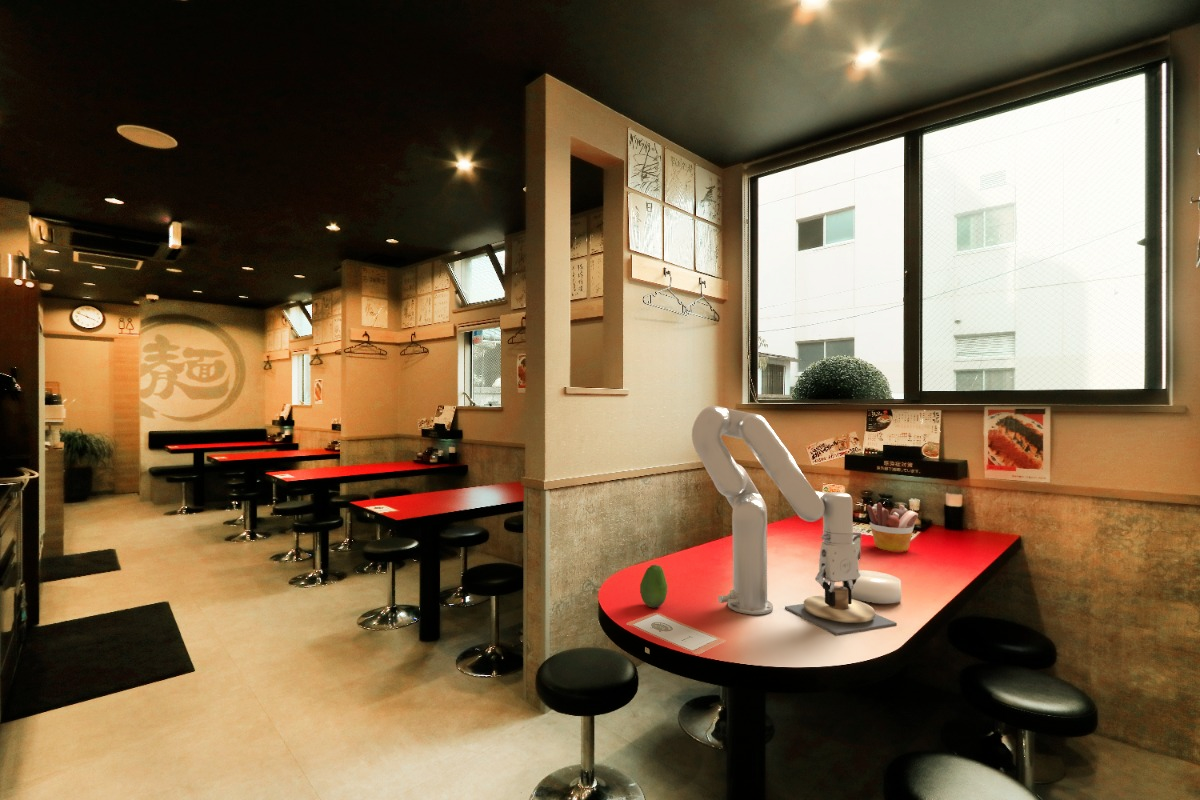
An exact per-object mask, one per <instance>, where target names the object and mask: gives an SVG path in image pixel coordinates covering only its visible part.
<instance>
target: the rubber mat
mask: <svg viewBox="0 0 1200 800" xmlns="http://www.w3.org/2000/svg"><path fill="white" fill-rule="evenodd" d="M784 609H786V610H788V611H789V612H791V613H793V614H794V615H796V616H799V617H800V618H803V619H804V620H806V621H808V622H810V623H811V624H813V625H816V626H818V627H820V628H822V629H824V630H825V631H828V632H829V633H831V634H834V635H836V636H840V635H846V634H847V633H848V634H852V633H853V632H854V633H858V631H859V632H865V631H870V630H876V629H882V627H883V628H887V627H888V626H889V627H893V626H898V623H897V622H896V621H893V620H890V619H888V618H887V617H884V616H882V615H879V614H878V613H875V617H874V618H873V619H872V620H870V621H867V622H860V623H847V622H838V621H832V620H828V619H824V618H821V617H818V616H815V615H813V614H811V613H809V612H808V611H806V610H805V608H804V603H800V604H793V605H785V606H784ZM889 627H888V628H889Z"/></svg>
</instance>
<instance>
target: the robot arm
mask: <svg viewBox="0 0 1200 800" xmlns="http://www.w3.org/2000/svg"><path fill="white" fill-rule="evenodd" d="M691 430H692V431H691V441H692V444H693V447H694V449H695V451H696V454H697V456H698V457H699V459H700V461H701V462H702V465H703V466H704V468H705V470H706V472H707V473H708V475H709V477H710V478H711V480H712V483H713V484H714V486H715V488H716V490H717V492H719V493H720V494H721V495H722V496H723V497H724V496H725V498H726V500H727V501H728V503H729V505H730V506H731V508H732V515H731V517H732V518H731V520H732V521H731V522H732V523H731V524H732V525H731V526H732V527H731V528H732V589H730V590H729V593H728V594H727V595H725V594H724V595H719V596H718V597H717V599H718V603H720V604H724V603H727V606H728V608H729V609H730V610H731V611H732V610H733V611H735V612H736V613H741V614H746V615H750V616H751V615H753V616H754V615H755V616H758V615H759V616H760V615H761V616H762V615H766V614H769V613H771V612H772V611H773V610H774V605H773V603H772V602H771V601H769V600H768V538H767V537H768V536H767V535H768V508H767V504H766V502H765V499H764V498H763V497H762V495H761V494H760V492H759V490H758V488H757V487H756V485H755V484H754V482H753V481H752V479H751V477H750V475H749V474H748V472H747V471H746V469H745V468H744V467H743V466H742V465H741V464H738V463H737V462H736V460H735V459H734V458H733V457H734V456H732V455H731V452H730V450H729V448H728V447H727V446H726V444H725V443H724V441H723V438H722V436H727V437H730V438H735V439H740V440H743V441H744V443H745V444H746V446H747V447H748V449H749V450H750V451H751V453H752V454H753V455H754V457H755V458H756V460H758V462H759V464H760V465H761V467H762V468H763V470H764V471H765V472H766V474H767V476H768V477H769V478H770V479H771V480H772V482H774V484H775V485H776V486H777V488H778V489H779V491H780V492H781V494H782V495H783V497H784V498H785V499H786V501H788V503H789V505H790V506H791V507H792V509H793V510H794V512H795V513H796V514H797V516H798V517H799V518H800V519H801V520H803V521H806V522H816V521H818V520H820V519H821V518H822V519H823V520H822V525H823V527H822V531H823V532H822V535H820V538H821V540H823V541H822V542H821V544H820V550H819V562H818V563H819V564H818V566H819V567H818V573H817V575H816V576H815V578H814V580H815V581H816V582H817V583H818V584H819V585H820V586H821V587H822V589H823V590H824V596H825V603H826V604H828V605H830V606H832V607H834V606H835V592H833V589H834V585H836V583H839V582H841V583H842V586H843V587H846V588H848V604H851V603H852V599H853V598H852V596H851V589H853V588H854V586H853V585H854V584H855V582H856V580H857V579H858V578H859V577H860V573H859V570H860V569H859V561H858V556H857V550H856V546H855V543H854V542H853V532H854V531H853V530H854V529H853V527H854V525H853V523H854V521H853V520H854V519H853V517H854V516H853V515H854V514H853V513H854V512H853V509H854V508H853V498H852V495H850V494H849V493H846V492H839V491H838V492H837V491H834V492H833V491H832V492H831V491H830V492H826V491H825V492H824V491H818V490H815V489H814V488H813V487H812V485H811V483H810V482H809V481H808V479H807V478H806V477H805V475H804V474H803V473H802V471H801V469H800V468H799V466H798V465H797V463H796V461H795V458H794V457H793V455H792V454H791V452H790V451H789V450H788V448H787V447H786V445H785V444H784V443H783V442H782V440H781V439H780V437H779V436H778V435H777V434H776V432H775V430H773V428H772V426H770V424H769V423H768V421H767V420H766V418H765V417H763V415H760V414H757V413H752V412H746V411H742V410H735V409H732V408H727V407H723V406H719V405H709V406H706V407H705V408H703V409H702V410H701V411H700V412H699V413H698V415H697V417H696V419H695V420H694V423H693V425H692V429H691Z"/></svg>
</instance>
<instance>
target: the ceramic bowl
mask: <svg viewBox="0 0 1200 800" xmlns="http://www.w3.org/2000/svg"><path fill="white" fill-rule="evenodd" d="M859 573H860V577H859V578H858V579H857V580H856V582H855V584H854V585H853V586H854V588H853V589H851V596H852V599H854V600H857V601H860V602H862V601H863V602H865V601H866V603H870V602H872V603H871V604H895V603H899V602H901V600H902V580H901V579H900V578H898V577H897V576H894V575H892V574H889V573H886V572H885V573H884V572H881V571H880V572H879V571H874V570H865V569H864V570H863V569H859Z"/></svg>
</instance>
